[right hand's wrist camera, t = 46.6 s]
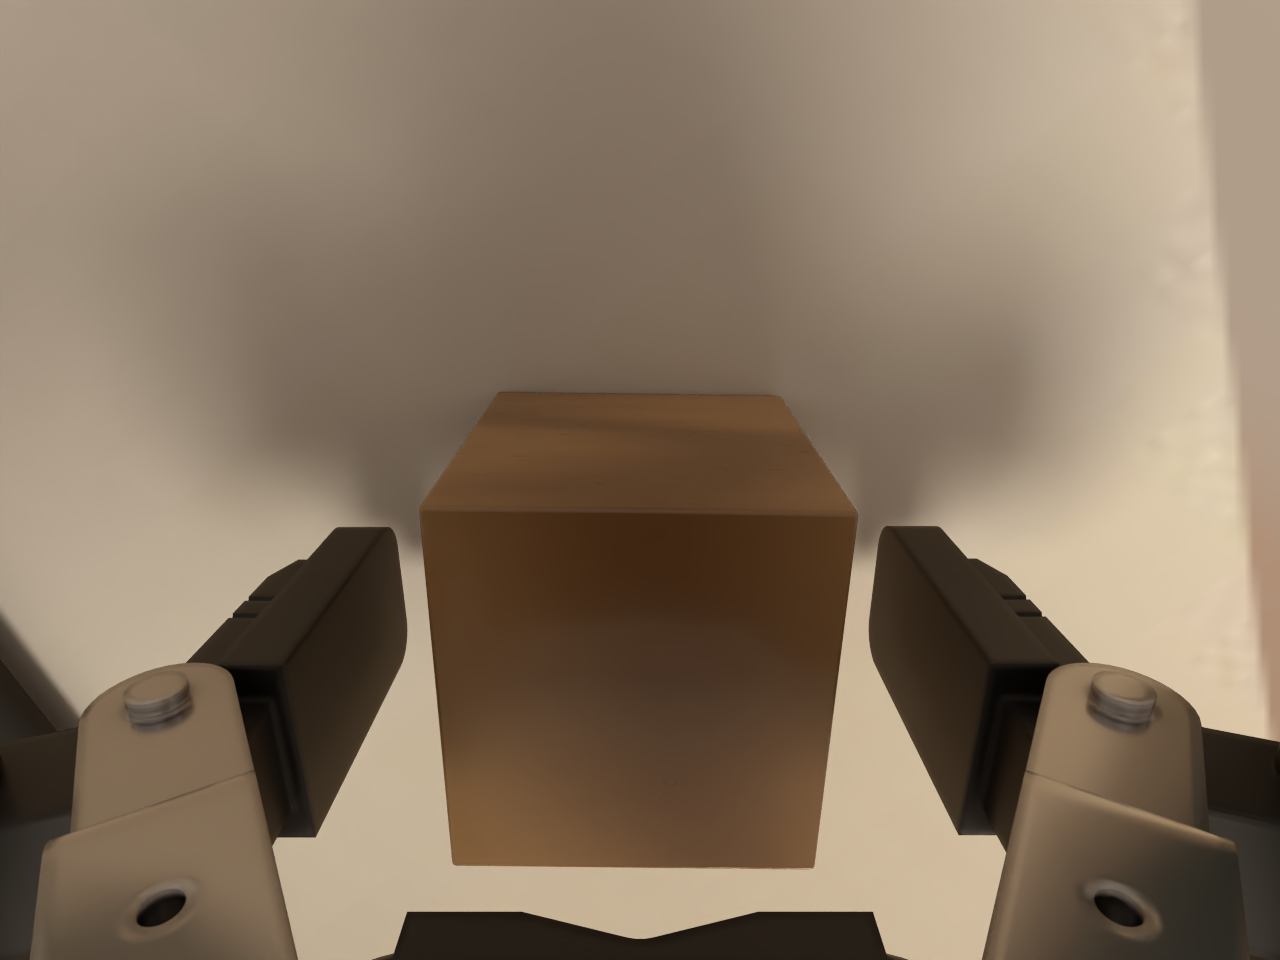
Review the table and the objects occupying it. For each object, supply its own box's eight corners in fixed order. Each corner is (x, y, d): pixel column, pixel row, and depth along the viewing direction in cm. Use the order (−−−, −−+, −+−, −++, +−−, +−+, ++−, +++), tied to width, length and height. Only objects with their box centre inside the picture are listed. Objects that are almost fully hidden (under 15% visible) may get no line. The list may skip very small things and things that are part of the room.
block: (510, 652, 14) (451, 867, 10) (497, 391, 12) (417, 506, 8) (759, 655, 14) (815, 872, 10) (781, 395, 12) (860, 512, 8)
